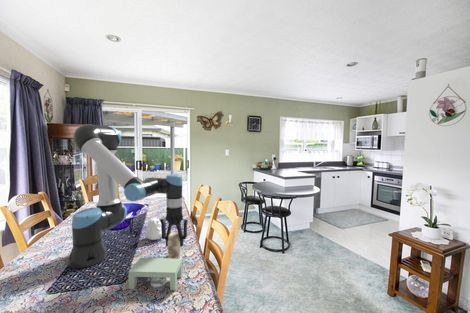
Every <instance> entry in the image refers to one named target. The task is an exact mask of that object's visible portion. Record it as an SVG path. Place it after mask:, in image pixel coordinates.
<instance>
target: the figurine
mask: <svg viewBox="0 0 470 313" xmlns="http://www.w3.org/2000/svg"><path fill="white" fill-rule="evenodd" d="M144 231H145V235H144V238H145V239H149V240H151V241H156V240H159V239H162V224H161V221H160V219H159V218H157V217H153V218H152V217H150V219H149V220H148V221H147V224H146V226H145V230H144Z"/></svg>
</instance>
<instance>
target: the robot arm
mask: <svg viewBox="0 0 470 313" xmlns="http://www.w3.org/2000/svg"><path fill="white" fill-rule="evenodd" d="M72 138H73V142H74V145H75V146H76V148H77V149H78V151H80V152H81V153H82V154H83V155H88V156H89V157H90V158H91V159H92V160H93V161H94V162H95V163H96V174H97V186H98V188H97V189H98V198H99V200H98V202H97V203H96V207H90V208H84V209H81V210H79V211H78V212H75V213H74V214H73V216H72V219H71V230H72V231H71V233H72V234H71V235H72V248H71V252H70V254H69V257H68V266H69V267H70V268H76V269H80V268H81V269H82V268H83V269H84V268H88V267H92V266H94V265H97V264H99V263H100V262H103V261H104V260H105V259H106V258H107V254H108V253H107V252H108V251H107V248H106V247H105V244H104V242H103V233H104V232H105V231H108V230H111V229H113V228H114V227H118V225H120V224H122V223H123V222H124V221H125V220H126V218H127V215H128V210H127V206H125V204H124V203H123V202H122V200H121V199H120V198H119V197H118V196H119V194H118V185H120V186H121V188H123V194H124V196H125V199H126V200H128V201H129V202H137V201H141V200H143V199H144V198H148V197H150V196H154V195H156V194H161V195H162V194H163V195H166V198H165V199H166V200H165V201H166V212H165V214H166V216H165V217H161V219H159V221H160V222H161V228H162V230H161V233H162V238H161V239H162V240H165V246H166V247H167V254H168V255H169V237H168V236H169V235H170V233H171V232H172V228H173V226H175V227H176V229H177V232H178V234H179V238H180V239H179V241H178V254H180V255H181V252H182V247H183V245H184V240H186V239H187V237H188V222H189V218H188V217H187V218H186V217H184V216H183V185H184V184H183V177H182V174H177V173H176V174H175V173H174V174H173V173H172V174H167V175H166V176H165V178H163V177H146V178H145V179H143V180H142V179H141V178H140V177H138V176H137V175H136V174H135V172H133V171H132V170H131V169H130V168H129V167H128V166H127V165H126V164H125V163H123V162H122V161H121V159H119V158H118V157H117V156H116V153H117V152H118V147H119V146H120V144H122V135H121V133H120V131H119V130H118V129H117V128H115V127H112V126H109V125H99V124H88V123H87V124H86V123H85V124H82V125H80V126H79V127H77V128H76V129H75V131H74V132H73V136H72ZM166 222H167V223H168V226H167V225H166ZM181 222H183V228H182V226H181ZM166 228H167V230H166ZM182 229H183V230H182Z"/></svg>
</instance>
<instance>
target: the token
mask: <svg viewBox="0 0 470 313" xmlns="http://www.w3.org/2000/svg"><path fill="white" fill-rule="evenodd" d="M166 284H167V278H166V277H152V278H151V280H150V286H151V288H153V289H159V288H162V287H164V286H165V285H166Z"/></svg>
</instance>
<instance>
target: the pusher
mask: <svg viewBox="0 0 470 313" xmlns="http://www.w3.org/2000/svg"><path fill="white" fill-rule="evenodd" d="M168 237H169V254H168V256H167V258H171V259H179V257H180V255H181V253H180V254H178V241H179V239H180V238H179V234H178V231H171V233H170V235H169V236H168Z"/></svg>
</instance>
